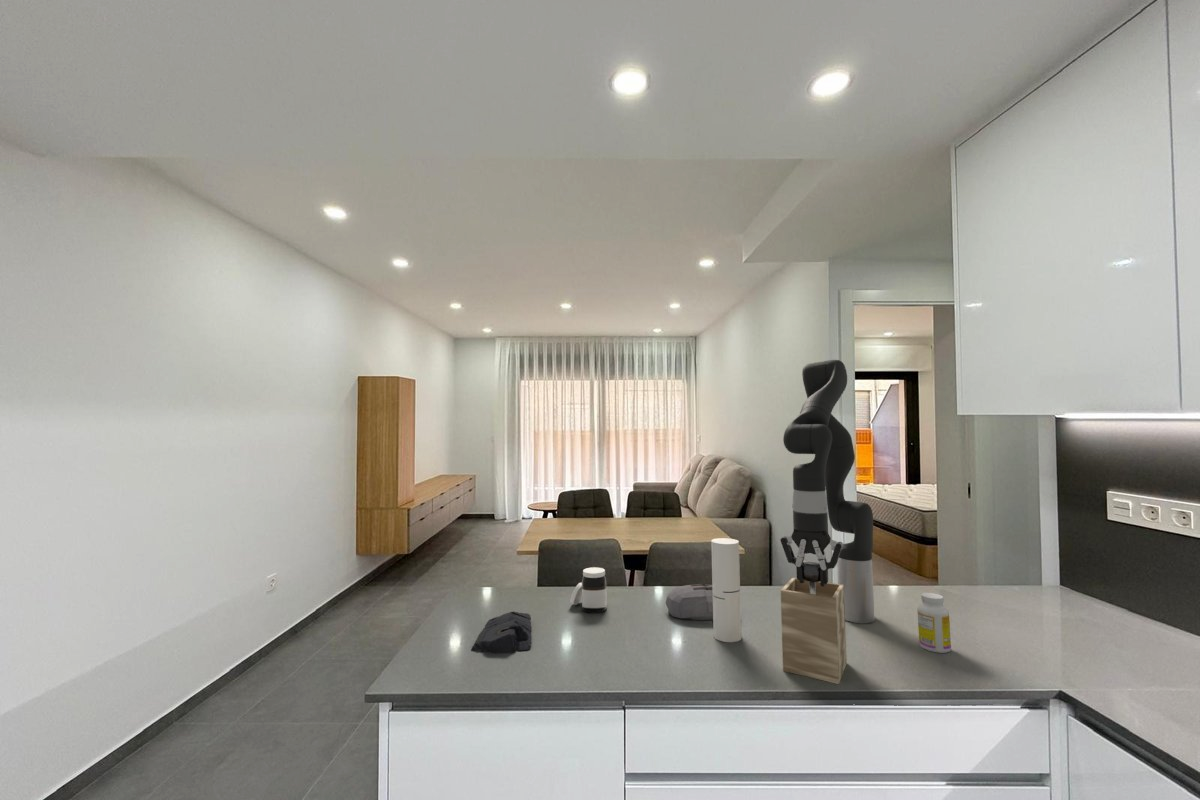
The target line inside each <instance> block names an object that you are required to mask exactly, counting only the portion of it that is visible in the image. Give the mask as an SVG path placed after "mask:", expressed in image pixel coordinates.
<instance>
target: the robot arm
mask: <svg viewBox="0 0 1200 800" xmlns="http://www.w3.org/2000/svg"><path fill="white" fill-rule="evenodd" d="M847 373H848V372H847V368H846V366H845V364H844V363H843V361H842V360H840V359H830V360H829V359H828V360H822V361H818V362H810V363H806V364H805V365H803V367H802V375H801V376H802V382H803V387H804V390H805V394H806V398H807V399H806V400H805V401H804V402H803V404H802V407H801V409H800V411H799V415H797V416H796V417H795V418H794V419H792V421H791V422H790V423H789V424H788V425H787V427H786V429H785V430H784V433H783V439H782V440H783V446H784V448H785V449H786V450H787V451H788V452H789V453H791V454H795V455H814V458H813V460H812V461H811V462H810V461H809V462H807V463H801V464H800V463H799V464H797V465H794V467H793V469H792V482H793V483H792V488H793V491H792V504H791V505H792V520H793V521H792V524H793V531H792V534H791V535H788V536H787V535H784V536H782V537H781V538H780V543H781V546H782V549H783V552H784V554H785V557H786V560H787V562H788V563H789V564H793V565H794V566H796V569H795V570H796V571H795V572H796V578H797V580H799V581H800V583H804V581H805V580H804V579H803V563H804V562H805V557H806V554H812V555H816V558H817V561H818V563H819V564H820V567H821V569H820V584H821V586H825V584H827V583H829V570H830V569H835V568H837V570H836V571H837V572H836V573H837V584H841V585H844V604H845V621H847V622H852V623H855V624H870V623H871V624H872V623H873V622H875V598H874V578H873V575H874V573H873V549H874V513H873V509H872V507H871V505H869V504H868V503H866V502H861V501H854V500H853V501H850V500H846V499H845V495H844V485H845V481H846V479H847V477H848V475H849V474H850V471H851V470H852V468H853V465H854V463H855V458H856V456H855V449H854V444H853V439H852V435H851V434H850V432H849V431H848V430H847V428H846V427H845V426H844V425H843V424H842V423H841V422H840V421H839V420H838V419H837V418H836V417H835V416H834V415H833V414H832V412H833V409H834V408H835V406H836V405H837V402H838V401H839V400H840V398H841V397H842V395H843V394H844V392H845V390H846V388H847V385H848V374H847ZM828 520H829V522H828ZM829 524H830V525H831V527H832V529H833V530H835V531H837V532H841V533H846V534H853V535H854V537H853V541H851V542H847V543H843V542H842V541H837V540H834V539H831V536H830V534H829ZM793 542H794V544H795V545H796V546H797V548H798V551H797V554H796V557H795V554H794V552H793V549H792V544H793ZM829 545H830V549H831V550H832V551H833V552H832V556H831V558H830V561H828V560H827V555H826V552H825V549H826V548H827V547H828V546H829Z"/></svg>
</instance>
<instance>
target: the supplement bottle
mask: <svg viewBox="0 0 1200 800" xmlns="http://www.w3.org/2000/svg"><path fill="white" fill-rule="evenodd" d="M920 594H921V595H920V597H921V598H920V599H921V601H922V602H921V603H919V604H918V605H917V609H916V610H917V625H918V629H917V630H918V641H919V642H918V643H919V646H920V647H921V648H923V649H925V650H926V651H929V652H933V653H937V654H938V653H939V654H944V653H945V654H946V653H949V652H951V650H952V641H951V628H950V627H951V626H950V625H951V624H950V612H949V609H948V608H947V607H946V606H944V605H943V604H944V601H945V600H944V596H943V595H941V594H938V593H933V592H922V593H920Z"/></svg>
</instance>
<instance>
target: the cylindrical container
mask: <svg viewBox="0 0 1200 800" xmlns="http://www.w3.org/2000/svg"><path fill="white" fill-rule="evenodd" d="M710 543H711V577H712V578H711V579H712V582H711V583H712V584H711V585H712V588H713V620H712V621H713V622H712V623H713V624H712V625H713V638H715V639H716V640H718V641H721V642H724V643H737V642H739V641H741V640H742V610H741V607H742V606H741V578H740V577H741V575H740V574H741V573H740V570H741V569H740V541H739V540H737V539H734V538H727V537H725V538H724V537H723V538H722V537H721V538H712V539H711V542H710Z"/></svg>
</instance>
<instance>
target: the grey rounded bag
mask: <svg viewBox="0 0 1200 800" xmlns="http://www.w3.org/2000/svg"><path fill="white" fill-rule="evenodd" d="M665 605H666V607H667V610H668V614H670V615H671V616H672V617H675V618H677V619H678V618H679V619H685V620H687V619H688V620H692V621H713V588H712V584H711V583H707V584H705V583H699V584H697V583H696V584H686V585H682V586H679V587H675V588H674V589H672V590H671V591H670V592H668V593H667V596H666V599H665Z"/></svg>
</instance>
